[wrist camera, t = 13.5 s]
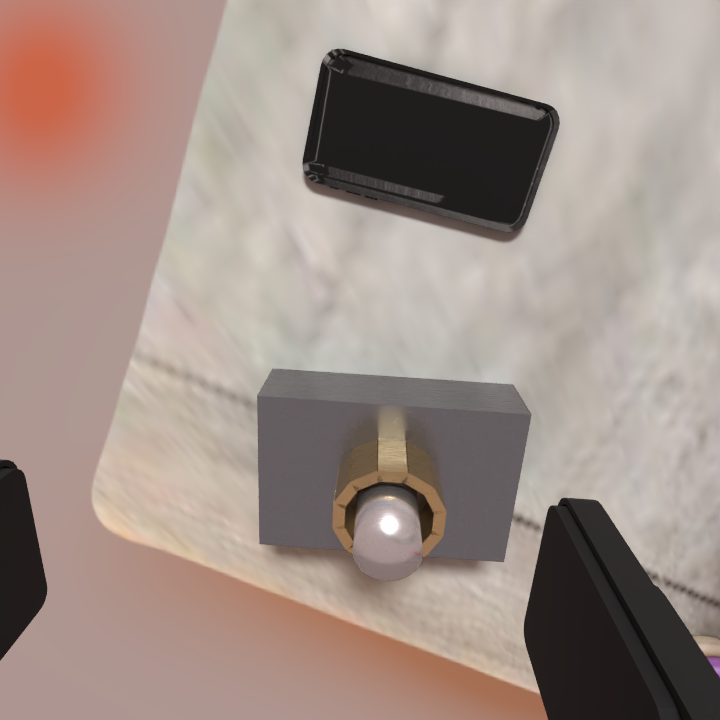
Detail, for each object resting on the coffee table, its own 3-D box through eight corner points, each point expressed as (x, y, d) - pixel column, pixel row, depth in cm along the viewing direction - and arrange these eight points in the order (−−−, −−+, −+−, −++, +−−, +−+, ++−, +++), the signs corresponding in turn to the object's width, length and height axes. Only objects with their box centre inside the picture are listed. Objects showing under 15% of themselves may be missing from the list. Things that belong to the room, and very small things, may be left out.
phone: (325, 43, 31) (565, 108, 31) (327, 48, 32) (559, 111, 32) (299, 180, 33) (520, 237, 34) (301, 179, 34) (516, 235, 35)
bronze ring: (443, 442, 35) (451, 475, 31) (433, 528, 37) (439, 568, 33) (339, 435, 35) (334, 467, 31) (336, 521, 37) (331, 561, 33)
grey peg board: (513, 384, 38) (567, 473, 27) (490, 518, 42) (529, 644, 31) (272, 368, 39) (227, 449, 27) (273, 503, 43) (233, 621, 32)
